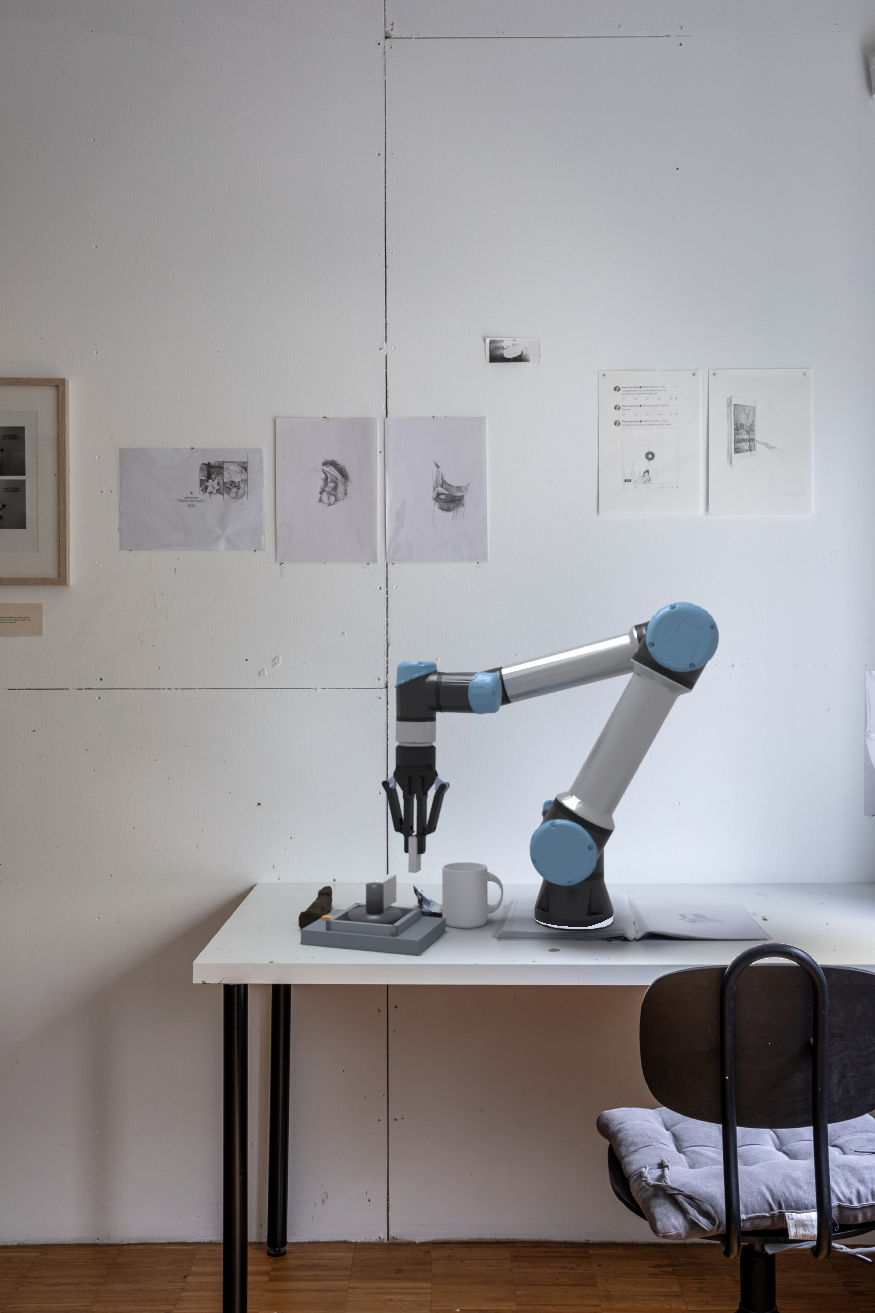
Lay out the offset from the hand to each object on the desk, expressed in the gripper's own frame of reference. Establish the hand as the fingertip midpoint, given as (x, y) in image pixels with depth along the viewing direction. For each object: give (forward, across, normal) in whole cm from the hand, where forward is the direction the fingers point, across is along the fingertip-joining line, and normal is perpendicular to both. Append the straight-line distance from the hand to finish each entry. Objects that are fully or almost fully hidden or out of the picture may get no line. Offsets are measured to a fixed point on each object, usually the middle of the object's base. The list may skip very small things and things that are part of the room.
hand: (414, 871), depth 174 cm
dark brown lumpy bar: (+12, +21, -2) cm, 24 cm away
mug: (+11, -9, -8) cm, 17 cm away
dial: (+8, +5, +5) cm, 11 cm away
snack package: (+11, 0, -14) cm, 18 cm away
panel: (+11, +5, +7) cm, 14 cm away
